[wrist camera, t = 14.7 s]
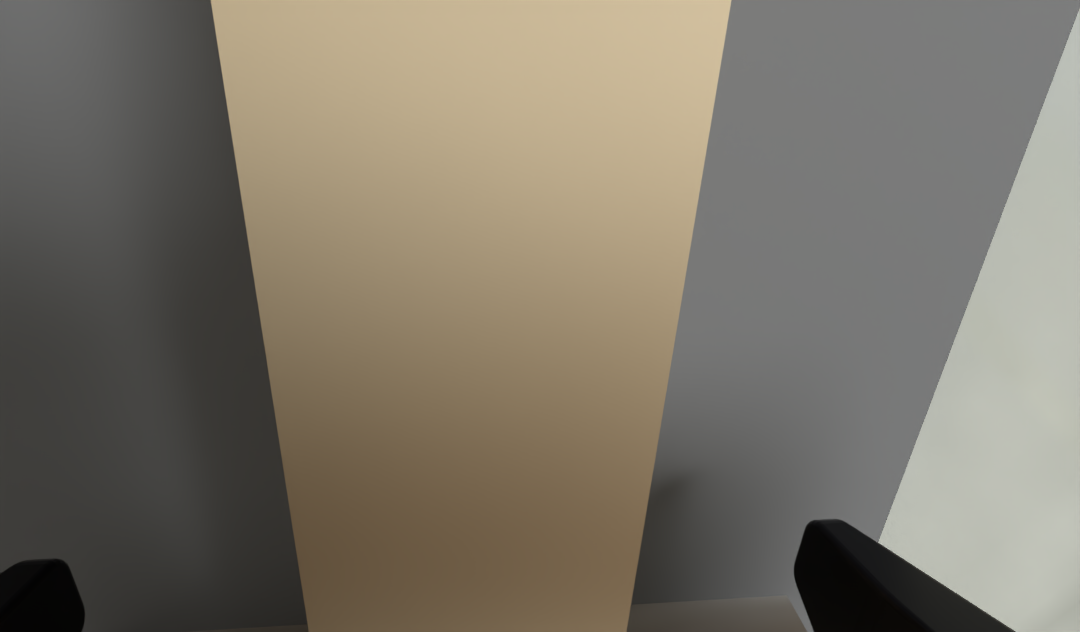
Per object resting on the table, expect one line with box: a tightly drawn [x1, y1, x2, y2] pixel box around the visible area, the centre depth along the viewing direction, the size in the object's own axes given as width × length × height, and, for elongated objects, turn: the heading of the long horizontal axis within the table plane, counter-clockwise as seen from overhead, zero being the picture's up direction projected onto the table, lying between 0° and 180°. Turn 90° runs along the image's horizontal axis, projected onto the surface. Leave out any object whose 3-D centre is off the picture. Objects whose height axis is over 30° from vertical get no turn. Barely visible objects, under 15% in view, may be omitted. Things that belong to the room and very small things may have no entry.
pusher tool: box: [190, 0, 807, 632], centre depth 7 cm, size 13×12×4 cm
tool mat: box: [0, 0, 1080, 632], centre depth 9 cm, size 16×15×1 cm
